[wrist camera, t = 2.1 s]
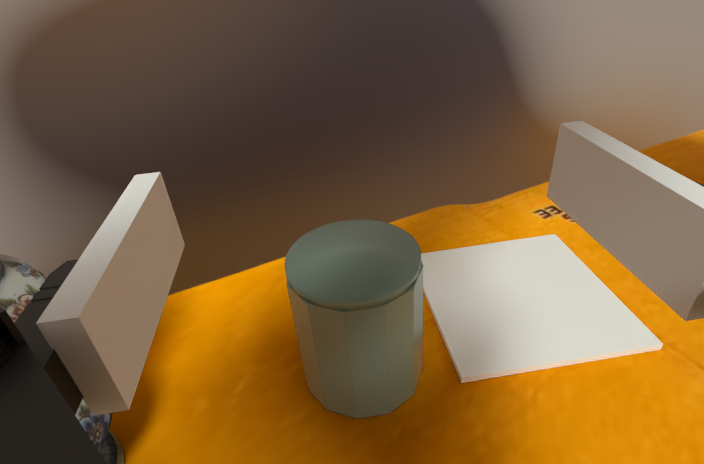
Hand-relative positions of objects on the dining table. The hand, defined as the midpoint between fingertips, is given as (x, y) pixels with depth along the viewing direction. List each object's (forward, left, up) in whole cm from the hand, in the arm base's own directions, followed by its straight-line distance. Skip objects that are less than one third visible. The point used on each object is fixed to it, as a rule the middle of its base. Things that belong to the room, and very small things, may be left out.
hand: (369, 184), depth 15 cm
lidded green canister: (0, -11, -21) cm, 24 cm away
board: (-15, -16, -21) cm, 31 cm away
